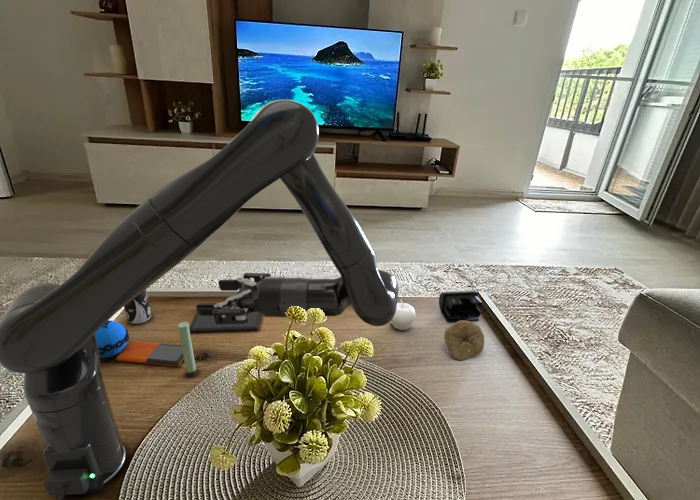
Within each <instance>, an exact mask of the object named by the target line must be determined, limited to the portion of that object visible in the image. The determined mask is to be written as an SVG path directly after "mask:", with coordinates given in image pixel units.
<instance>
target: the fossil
mask: <svg viewBox="0 0 700 500" xmlns="http://www.w3.org/2000/svg"><path fill="white" fill-rule="evenodd" d="M485 337H486V336H485V333H484V332H483V330H482V328H481V326H480V325H478V324H477V323H474V322H473V321H458V322H454V323H453V324H452V325H451V326H448V327H447V328H446V329H445V330H444V333H443V340H444V344H445V345H446V348H447V350H448V352H449V354H450V355H451V356H452V358H454V359H455V360H458V361H464V360H466V359H468V358H475V357H477V356H479V355H480V354H481V353H482V351H483V350H484V348H485V347H484V346H485V339H486V338H485Z"/></svg>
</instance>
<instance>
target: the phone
mask: <svg viewBox="0 0 700 500" xmlns="http://www.w3.org/2000/svg"><path fill="white" fill-rule="evenodd" d="M115 360H116V361H117V362H126V363H136V364H144V365H154V366H165V367H176V368H177V367H179V366H180V365H181V364H182V362H183V361H184V356H183V351H182V345H181V344H171V343H170V344H169V343H159V342H156V343H155V342H146V341H137V340H132V341H130V343H129V344H128V345H126V346H125V347H124V348H123V350H122V351H121V352H119V353H118V354H117V355H116V357H115Z"/></svg>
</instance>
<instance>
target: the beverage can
mask: <svg viewBox="0 0 700 500" xmlns="http://www.w3.org/2000/svg"><path fill="white" fill-rule="evenodd" d="M123 308H124V312H125V316H126V320H127V322H128V323H130V324H135V325H139V324H143V323H145V322H147V321H148V320H149V319H151V317H152V311H151V306H150V301H149V297H148V292H147V289H146V290H144V291H143V292H142V293H140V294H139V295H138V296H137V297H135V298H134V299H133V300H131V301H130V302H129V303H127V304H126V305H125V306H124V307H123Z"/></svg>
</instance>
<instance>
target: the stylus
mask: <svg viewBox="0 0 700 500" xmlns="http://www.w3.org/2000/svg"><path fill="white" fill-rule="evenodd" d="M177 328H178V334H179V340H180V346H182V351H183V356H184V360H183V361H184V367H185V371H186V376H187V377H188V378H192V377H195V376H196V375H197V366H196V361H195V354H194V349H193V342H192V337H191V333H190V330H189V329H190V324H189V322H188V321H182V322H179V323H178V325H177Z"/></svg>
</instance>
